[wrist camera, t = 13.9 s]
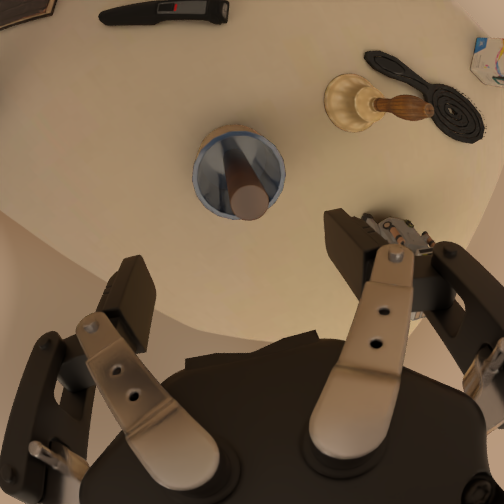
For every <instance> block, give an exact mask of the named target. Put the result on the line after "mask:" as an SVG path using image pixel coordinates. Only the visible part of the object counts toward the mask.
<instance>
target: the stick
mask: <svg viewBox="0 0 504 504" xmlns="http://www.w3.org/2000/svg"><path fill="white" fill-rule="evenodd" d="M223 164H224V170H225V176H226V182H227V188H228V194H229V200H230V206H231V209H232V211H233V213H234V214H235V215H236V216H237V217H238V218H240V219H242V220H248V221H250V220H255V219H258V218H260V217H261V216H262V215H263V214H264V213H265V212H266V211H267V209H268V206H269V198H268V195H267V193H266V191H265V189H264V187H263V186H262V184H261V182H260V181H259V179H258V177H257V175H256V174H255V172H254V170H253V168H252V167H251V165H250V163H249V162H248V160H247V158H246V156H245V155H244V153H243V152H242V151H240V150H238V149H231V150H229V151H227V152H226V153H225V155H224V157H223Z"/></svg>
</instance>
